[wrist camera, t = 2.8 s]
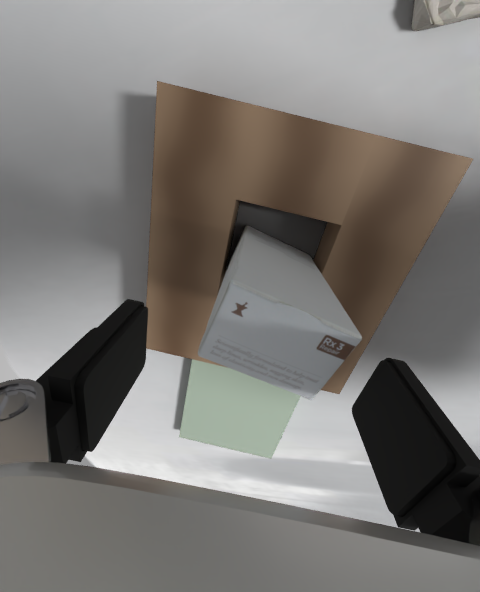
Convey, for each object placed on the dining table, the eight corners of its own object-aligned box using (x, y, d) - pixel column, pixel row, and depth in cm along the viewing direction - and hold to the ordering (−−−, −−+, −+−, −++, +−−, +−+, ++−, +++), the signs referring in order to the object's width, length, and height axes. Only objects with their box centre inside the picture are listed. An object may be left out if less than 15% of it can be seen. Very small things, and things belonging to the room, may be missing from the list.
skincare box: (226, 268, 22) (186, 361, 11) (247, 220, 20) (223, 277, 9) (289, 296, 23) (308, 410, 12) (315, 252, 21) (368, 340, 10)
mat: (306, 373, 26) (308, 380, 25) (271, 450, 33) (271, 458, 32) (195, 346, 26) (193, 352, 25) (181, 429, 32) (179, 437, 32)
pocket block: (435, 161, 17) (473, 158, 14) (330, 367, 26) (339, 394, 22) (177, 97, 17) (157, 81, 14) (159, 326, 25) (144, 347, 22)
